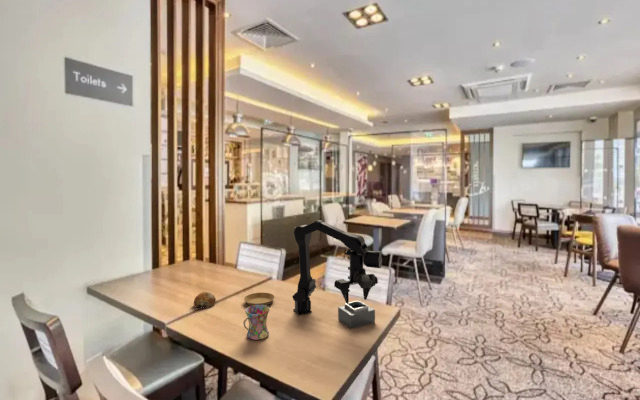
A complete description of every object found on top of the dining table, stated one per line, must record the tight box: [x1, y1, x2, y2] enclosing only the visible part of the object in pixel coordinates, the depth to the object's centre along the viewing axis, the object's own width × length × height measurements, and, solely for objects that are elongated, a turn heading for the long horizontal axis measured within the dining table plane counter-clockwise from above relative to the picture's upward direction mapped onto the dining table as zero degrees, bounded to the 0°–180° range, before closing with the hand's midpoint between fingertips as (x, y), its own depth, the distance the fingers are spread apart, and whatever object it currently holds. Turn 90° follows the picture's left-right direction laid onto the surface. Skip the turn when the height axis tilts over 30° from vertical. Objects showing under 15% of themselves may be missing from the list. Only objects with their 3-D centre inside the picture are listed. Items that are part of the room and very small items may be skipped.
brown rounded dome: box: [193, 291, 217, 309], centre depth 158 cm, size 10×10×8 cm
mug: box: [242, 305, 270, 341], centre depth 125 cm, size 12×9×11 cm
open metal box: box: [337, 300, 376, 330], centre depth 139 cm, size 12×10×7 cm
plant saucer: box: [243, 292, 275, 307], centre depth 160 cm, size 15×15×3 cm
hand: (356, 301), depth 139 cm, fingers open, 9 cm apart
